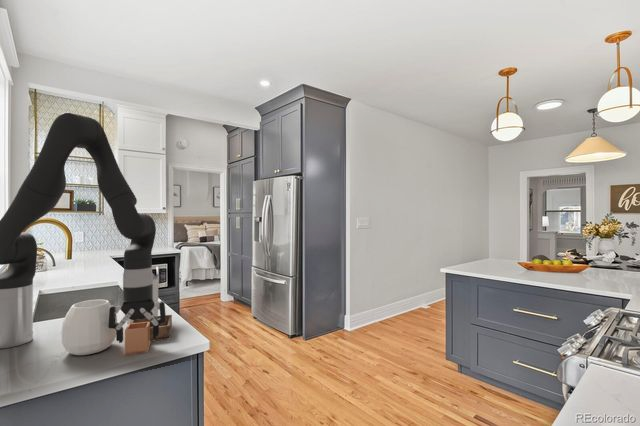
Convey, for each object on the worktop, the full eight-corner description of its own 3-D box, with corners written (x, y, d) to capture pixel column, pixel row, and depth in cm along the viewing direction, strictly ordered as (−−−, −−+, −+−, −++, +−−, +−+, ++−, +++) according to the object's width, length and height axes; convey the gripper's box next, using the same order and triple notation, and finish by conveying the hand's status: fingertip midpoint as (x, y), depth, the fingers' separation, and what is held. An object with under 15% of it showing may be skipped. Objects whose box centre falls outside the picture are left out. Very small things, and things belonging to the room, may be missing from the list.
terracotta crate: (124, 355, 91) (124, 330, 91) (128, 347, 96) (128, 323, 96) (147, 352, 93) (147, 327, 93) (149, 344, 98) (149, 321, 98)
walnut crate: (125, 344, 99) (125, 330, 99) (132, 330, 110) (132, 318, 110) (169, 338, 103) (169, 325, 103) (171, 326, 114) (171, 314, 114)
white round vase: (128, 343, 99) (128, 298, 99) (88, 362, 86) (88, 311, 86) (92, 339, 102) (92, 296, 102) (48, 357, 89) (48, 308, 89)
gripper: (105, 288, 88) (106, 348, 88) (164, 284, 93) (164, 340, 93) (112, 282, 95) (112, 338, 95) (166, 279, 100) (166, 332, 100)
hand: (138, 339), depth 94 cm, fingers open, 8 cm apart
